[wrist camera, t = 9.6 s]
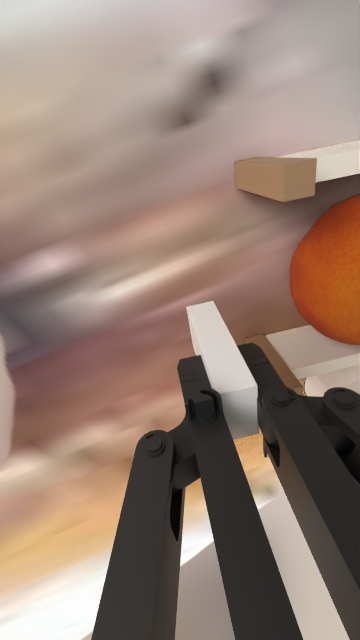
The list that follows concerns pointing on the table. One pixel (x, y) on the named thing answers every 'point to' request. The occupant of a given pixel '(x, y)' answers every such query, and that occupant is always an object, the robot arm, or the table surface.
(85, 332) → the table surface
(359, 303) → the fruit
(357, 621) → the robot arm
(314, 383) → the cup
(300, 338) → the frame
